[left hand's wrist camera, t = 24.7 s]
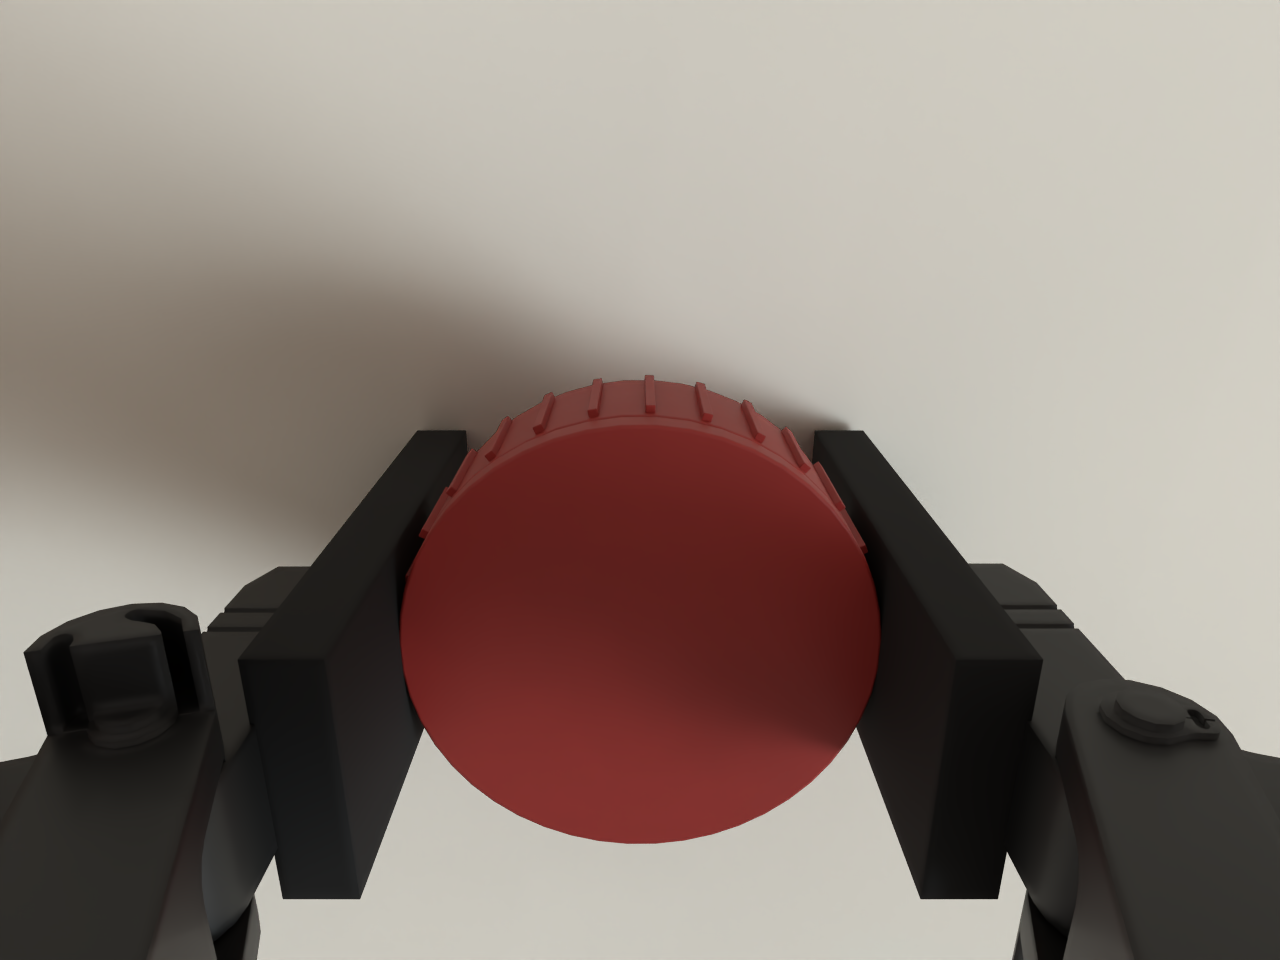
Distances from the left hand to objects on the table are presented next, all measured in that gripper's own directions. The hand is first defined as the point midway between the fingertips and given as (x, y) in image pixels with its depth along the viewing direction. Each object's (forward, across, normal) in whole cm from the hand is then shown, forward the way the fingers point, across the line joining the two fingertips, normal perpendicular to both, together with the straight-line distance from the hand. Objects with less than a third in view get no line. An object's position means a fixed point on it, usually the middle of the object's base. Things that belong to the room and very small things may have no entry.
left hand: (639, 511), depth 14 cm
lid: (-4, 0, 0) cm, 4 cm away
